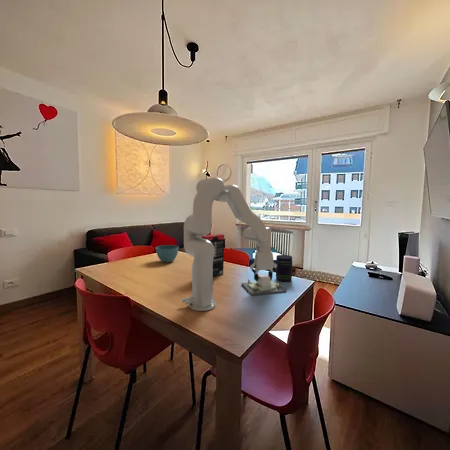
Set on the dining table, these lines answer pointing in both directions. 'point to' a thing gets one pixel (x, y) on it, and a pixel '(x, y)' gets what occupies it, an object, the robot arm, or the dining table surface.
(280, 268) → the storage jar
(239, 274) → the dining table surface
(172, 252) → the teal bowl
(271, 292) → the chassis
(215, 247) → the graphics card box
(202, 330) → the dining table surface
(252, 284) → the board
